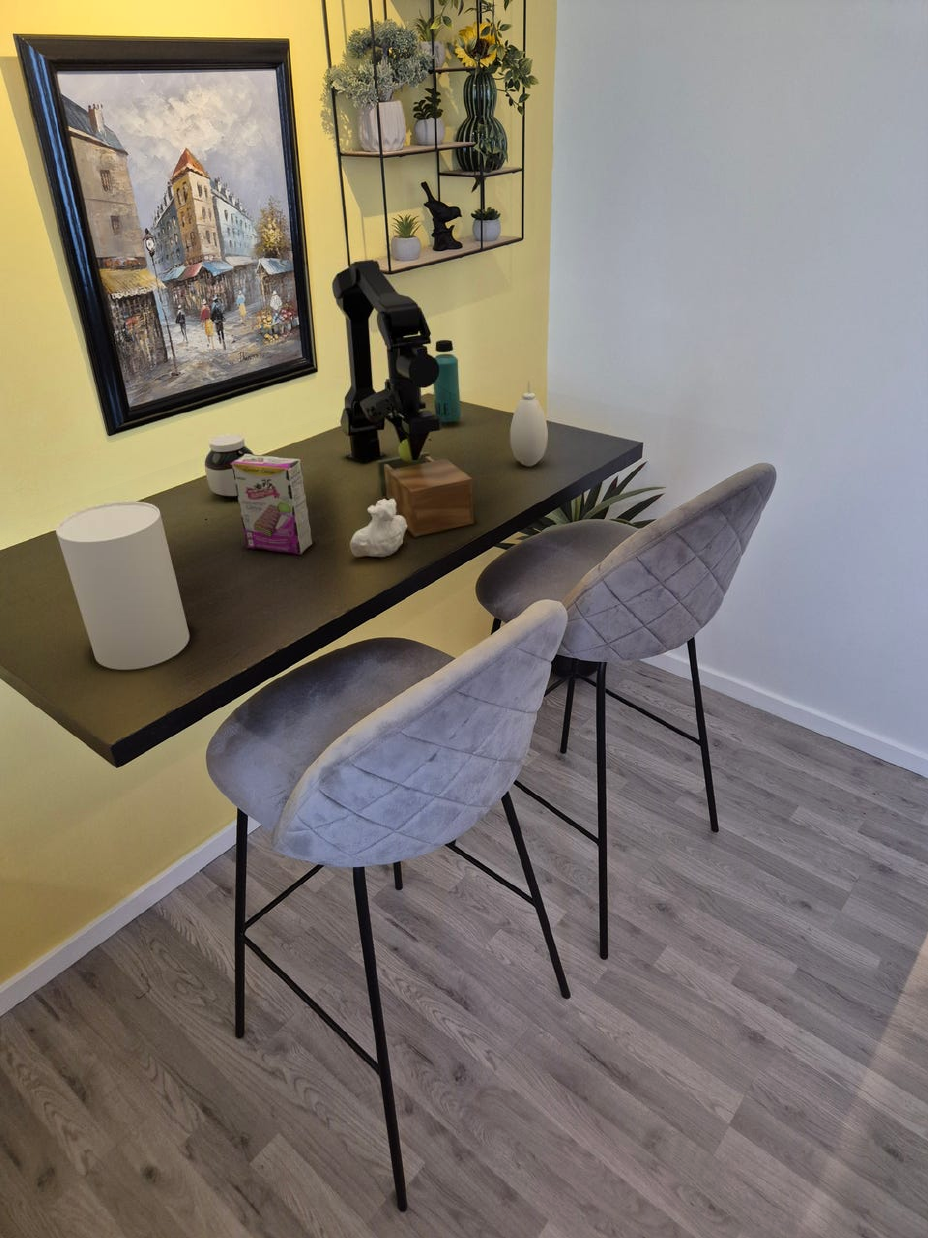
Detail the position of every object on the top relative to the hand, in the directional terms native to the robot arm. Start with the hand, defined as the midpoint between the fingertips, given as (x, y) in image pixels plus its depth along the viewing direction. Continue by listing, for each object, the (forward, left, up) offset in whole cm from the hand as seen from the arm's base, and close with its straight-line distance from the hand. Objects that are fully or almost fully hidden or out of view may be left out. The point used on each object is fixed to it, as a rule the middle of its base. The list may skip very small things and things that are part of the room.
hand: (410, 456), depth 166 cm
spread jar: (-34, -19, -10) cm, 40 cm away
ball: (0, 0, +1) cm, 1 cm away
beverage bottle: (-30, +39, -10) cm, 50 cm away
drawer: (0, 0, -9) cm, 9 cm away
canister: (+8, -62, -10) cm, 64 cm away
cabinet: (+9, -3, -10) cm, 13 cm away
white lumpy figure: (+13, -19, -10) cm, 25 cm away
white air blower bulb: (+4, +30, -10) cm, 31 cm away
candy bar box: (-4, -29, -10) cm, 31 cm away
